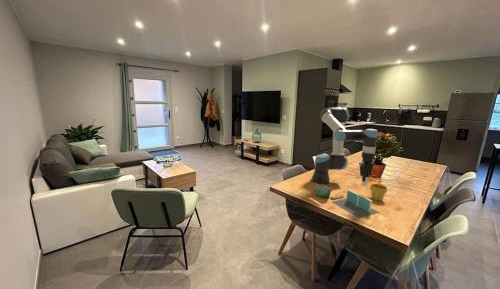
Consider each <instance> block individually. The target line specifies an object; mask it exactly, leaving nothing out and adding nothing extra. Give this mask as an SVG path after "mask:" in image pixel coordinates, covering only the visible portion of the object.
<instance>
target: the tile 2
mask: <svg viewBox="0 0 500 289" xmlns="http://www.w3.org/2000/svg"><path fill="white" fill-rule="evenodd" d="M372 204H373V200H372V199H370V198H368V197H366V196H364V195H362V194H360V195H359V199H358V207H359V208H361V209H363V210H365V211H367V212H368V213H369V212H370V211H371V208H372Z"/></svg>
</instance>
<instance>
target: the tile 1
mask: <svg viewBox="0 0 500 289" xmlns="http://www.w3.org/2000/svg"><path fill="white" fill-rule="evenodd" d="M359 195H361V194H359V193H358V192H356V191H353V190H352V189H347V192H346V198H347V199H346V198H345V199H346V201H348V202H350V203H352V204H354V205H355V206H358V199H359Z"/></svg>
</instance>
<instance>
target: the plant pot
mask: <svg viewBox="0 0 500 289" xmlns="http://www.w3.org/2000/svg"><path fill="white" fill-rule="evenodd" d="M369 190H370V191H371V194H370V195H371V200H372V199H373V200H375V201H378V202H381V201H383V200H384V197H385V194H387V192H388V187H387V185H383V184H380V183H371V184H370V188H369Z"/></svg>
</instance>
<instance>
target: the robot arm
mask: <svg viewBox="0 0 500 289" xmlns="http://www.w3.org/2000/svg"><path fill="white" fill-rule="evenodd" d="M349 119H350V111H349V110H348V108H347V107H338V106H337V107H336V106H335V107H334V106H333V107H332V106H329V107H325V108H323V109H322V110H321V112H320V120H321V121H322V122H323V123H325V124H326V125H327V126H328V128H330V130H331V131H332V151H331V153H330V155H329V154H327V153H326V154H325V153H322V154H321V153H320V154H317V155H316V156H315V160H314V172H313V174H312V176H311V181H312V182H314V183H316V182H317V183H318V184H321V185H326V184H329V183H330V180H331V179H330V175H329V171H331V170H333V171H334V170H336V171H337V170H338V171H339V170H340V171H342V170H345V169H346V168H347V167H348V164H349V160H348V157H347V156H346V154H345V153H344V143H345V142H362V144H363V145H362V150H361V151H362V152H361V158H362V159H361V162H359V163H358V164H359V175H360V176H361V177H362V178H361V181H362V182H361V186H363V187H367V185H368V180H369V178H370V176H371V175H372V172H373V169H374V167H375V164H376V162H375V161H374V159H375V155H376V154H375V153H376V148H377V144H378V143H377V142H378V137H379V136H378V135H379V134H378V133H379V131H378V129H374V128H366V129H364V130H363V129H356V130H355V129H346V127H345V125H346V124H347V122H348V121H349Z"/></svg>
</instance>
